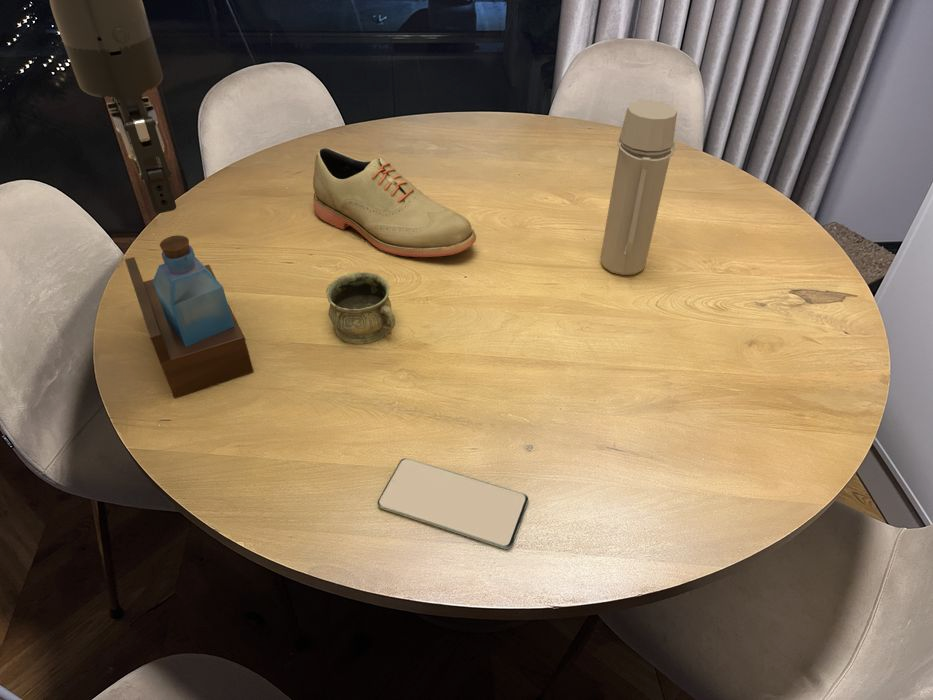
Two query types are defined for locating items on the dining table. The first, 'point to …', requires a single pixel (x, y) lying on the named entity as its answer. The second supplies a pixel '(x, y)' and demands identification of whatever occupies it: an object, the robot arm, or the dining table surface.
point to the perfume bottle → (190, 293)
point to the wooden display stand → (196, 361)
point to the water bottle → (638, 185)
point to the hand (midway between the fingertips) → (157, 192)
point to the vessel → (360, 307)
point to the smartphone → (454, 502)
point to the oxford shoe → (385, 207)
